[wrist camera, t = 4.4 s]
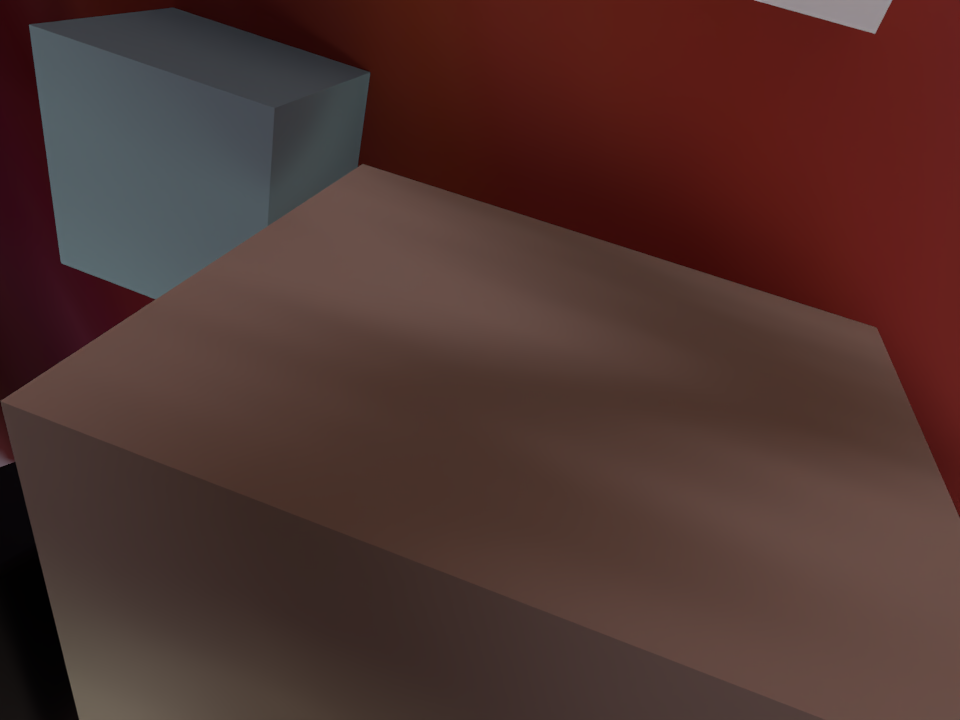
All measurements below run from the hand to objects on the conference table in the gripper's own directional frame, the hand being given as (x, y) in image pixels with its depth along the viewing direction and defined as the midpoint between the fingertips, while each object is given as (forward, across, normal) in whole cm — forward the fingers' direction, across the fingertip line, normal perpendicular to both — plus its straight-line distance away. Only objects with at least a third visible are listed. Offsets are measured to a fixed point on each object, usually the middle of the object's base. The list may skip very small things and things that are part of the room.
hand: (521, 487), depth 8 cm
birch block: (+1, 0, 0) cm, 1 cm away
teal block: (+12, +10, +2) cm, 16 cm away
